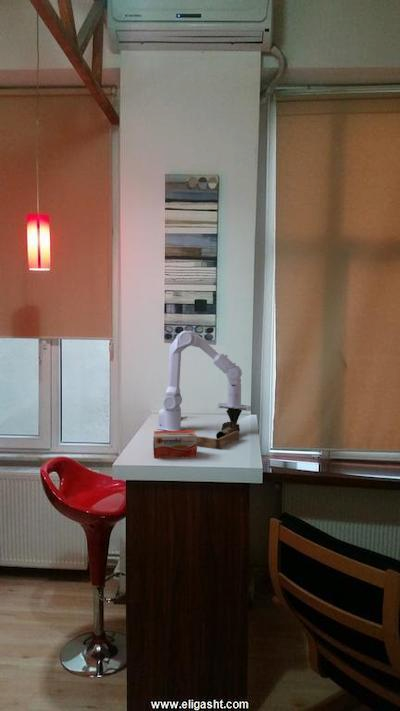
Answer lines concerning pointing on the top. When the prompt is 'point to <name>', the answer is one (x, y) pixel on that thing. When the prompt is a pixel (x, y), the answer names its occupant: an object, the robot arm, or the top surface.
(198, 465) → the top surface
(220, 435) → the brown rock
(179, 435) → the medicine box
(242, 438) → the top surface
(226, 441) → the corner fence
